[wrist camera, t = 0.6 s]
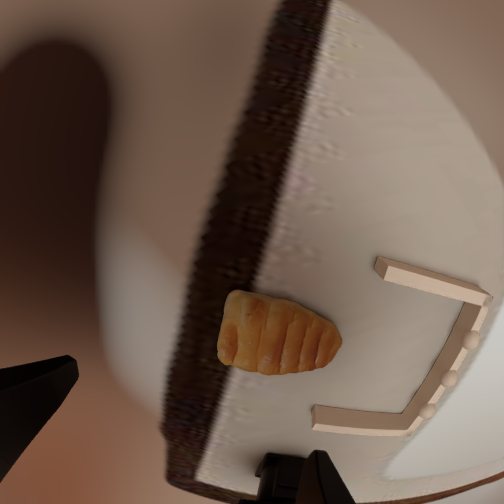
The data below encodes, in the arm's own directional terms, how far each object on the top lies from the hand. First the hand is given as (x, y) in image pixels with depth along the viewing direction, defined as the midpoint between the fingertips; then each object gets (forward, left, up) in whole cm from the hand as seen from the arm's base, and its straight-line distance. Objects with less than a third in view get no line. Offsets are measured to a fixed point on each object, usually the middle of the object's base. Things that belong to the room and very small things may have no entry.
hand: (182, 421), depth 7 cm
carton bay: (-3, -14, -14) cm, 19 cm away
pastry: (-3, -2, -14) cm, 15 cm away
